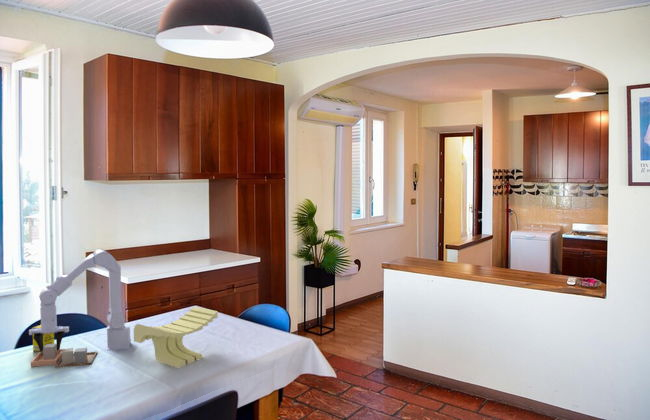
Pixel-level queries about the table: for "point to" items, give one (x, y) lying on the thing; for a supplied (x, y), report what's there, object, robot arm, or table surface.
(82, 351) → the block
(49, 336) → the supplement box
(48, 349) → the block
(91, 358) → the walnut tray
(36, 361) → the terracotta bin
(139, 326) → the slatted curved stool
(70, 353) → the white block
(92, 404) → the table surface
